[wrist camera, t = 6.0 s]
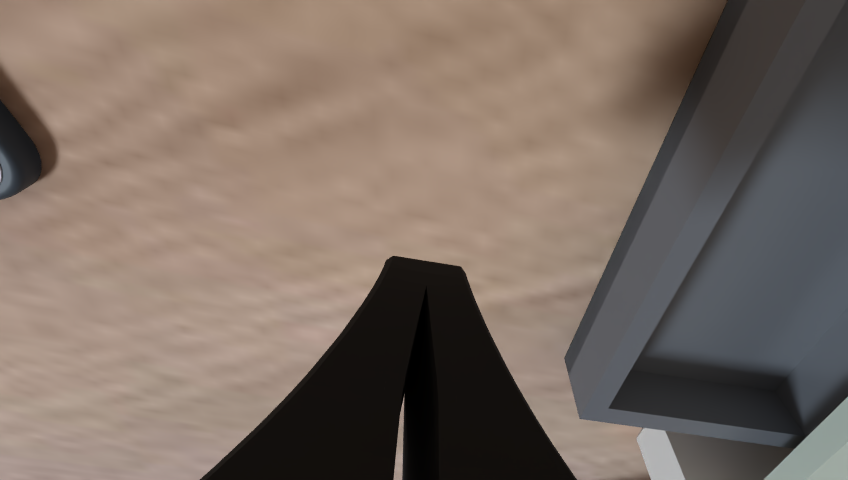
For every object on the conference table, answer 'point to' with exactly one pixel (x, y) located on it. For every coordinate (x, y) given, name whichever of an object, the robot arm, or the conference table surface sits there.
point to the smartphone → (16, 156)
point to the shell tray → (735, 245)
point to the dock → (749, 455)
